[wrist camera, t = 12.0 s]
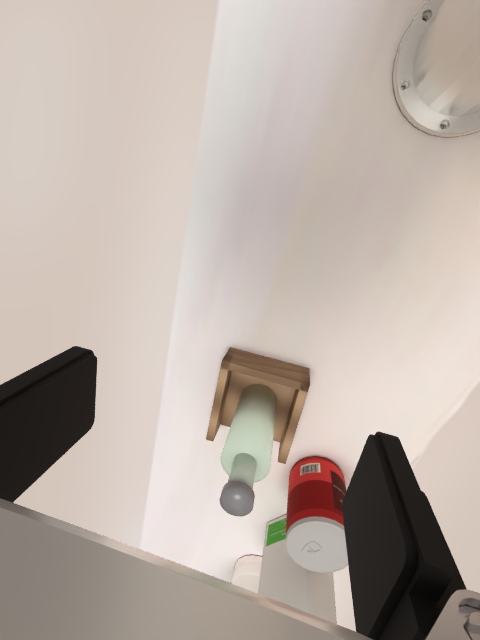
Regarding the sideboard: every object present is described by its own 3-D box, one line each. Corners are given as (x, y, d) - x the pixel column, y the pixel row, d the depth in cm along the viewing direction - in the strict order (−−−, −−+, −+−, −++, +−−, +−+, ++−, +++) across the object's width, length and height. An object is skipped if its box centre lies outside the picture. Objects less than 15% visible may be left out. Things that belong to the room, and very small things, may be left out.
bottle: (244, 379, 43) (213, 471, 27) (281, 390, 43) (271, 490, 27) (236, 410, 45) (203, 514, 29) (272, 421, 45) (257, 532, 29)
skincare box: (308, 503, 48) (309, 625, 33) (332, 534, 49) (345, 667, 34) (264, 522, 51) (247, 642, 36) (288, 552, 51) (282, 681, 37)
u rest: (230, 347, 43) (222, 360, 39) (309, 368, 42) (309, 385, 38) (215, 419, 47) (205, 439, 43) (287, 441, 46) (285, 464, 41)
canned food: (279, 480, 48) (272, 550, 38) (308, 444, 45) (310, 509, 35) (323, 507, 48) (328, 584, 37) (355, 473, 45) (370, 546, 35)
